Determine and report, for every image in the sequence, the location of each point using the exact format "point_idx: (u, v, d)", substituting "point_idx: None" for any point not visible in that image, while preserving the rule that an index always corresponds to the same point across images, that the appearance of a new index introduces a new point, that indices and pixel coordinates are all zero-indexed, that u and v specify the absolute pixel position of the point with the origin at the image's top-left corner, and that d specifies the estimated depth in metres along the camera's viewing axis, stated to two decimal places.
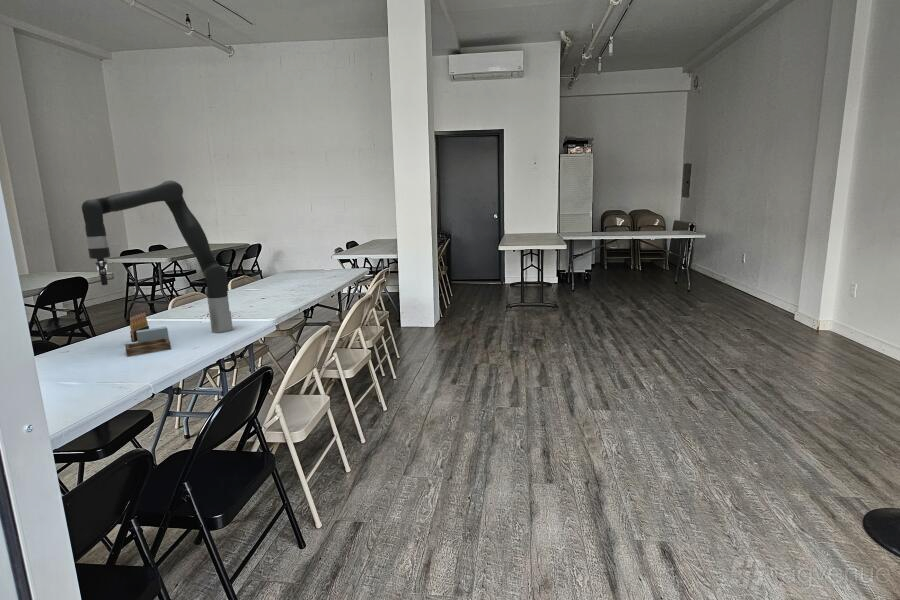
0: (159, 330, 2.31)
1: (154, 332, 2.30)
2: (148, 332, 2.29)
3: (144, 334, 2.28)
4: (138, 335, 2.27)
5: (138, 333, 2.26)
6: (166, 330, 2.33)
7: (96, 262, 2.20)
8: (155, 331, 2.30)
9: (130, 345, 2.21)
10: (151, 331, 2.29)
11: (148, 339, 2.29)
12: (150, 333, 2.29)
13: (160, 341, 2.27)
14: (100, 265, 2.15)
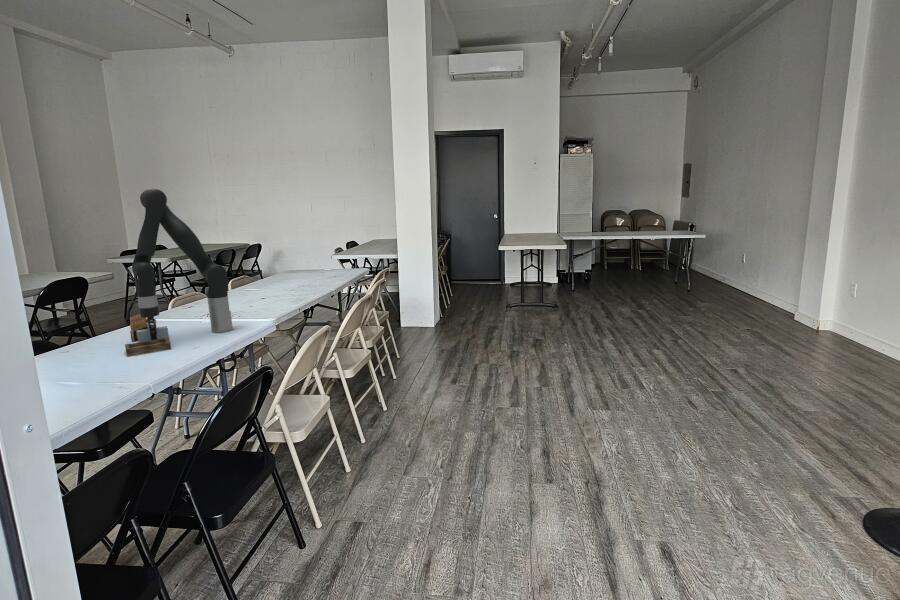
0: (159, 330, 2.31)
1: None
2: (148, 332, 2.29)
3: (144, 333, 2.28)
4: (138, 335, 2.27)
5: (138, 333, 2.26)
6: (166, 330, 2.33)
7: (146, 320, 2.30)
8: None
9: (130, 345, 2.21)
10: (151, 331, 2.29)
11: (148, 339, 2.29)
12: None
13: (160, 341, 2.27)
14: (151, 327, 2.25)
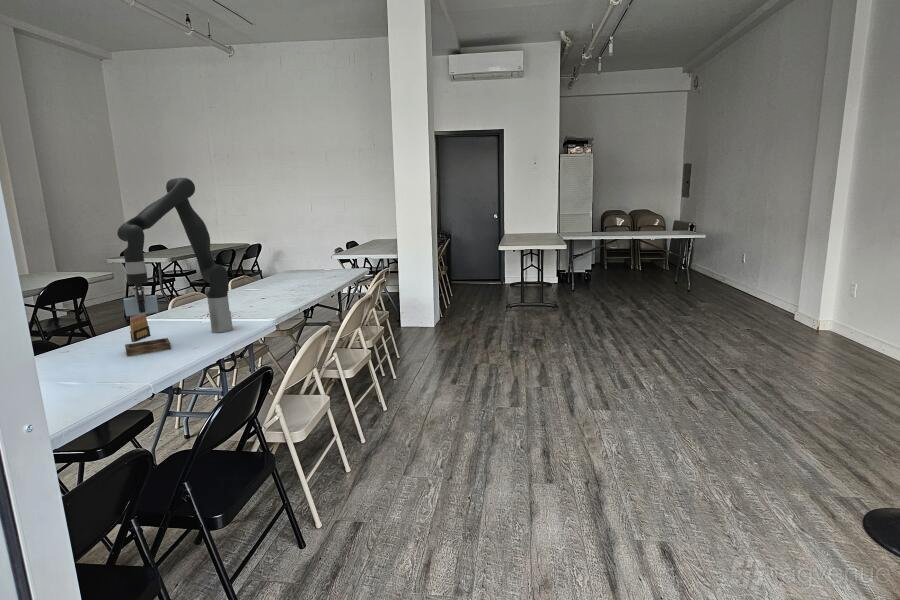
0: (148, 298, 2.18)
1: None
2: (136, 300, 2.15)
3: (131, 301, 2.14)
4: (125, 303, 2.13)
5: (125, 300, 2.13)
6: (155, 298, 2.19)
7: None
8: None
9: (130, 345, 2.21)
10: (139, 299, 2.16)
11: (136, 307, 2.16)
12: (137, 301, 2.16)
13: (160, 341, 2.27)
14: (139, 294, 2.12)
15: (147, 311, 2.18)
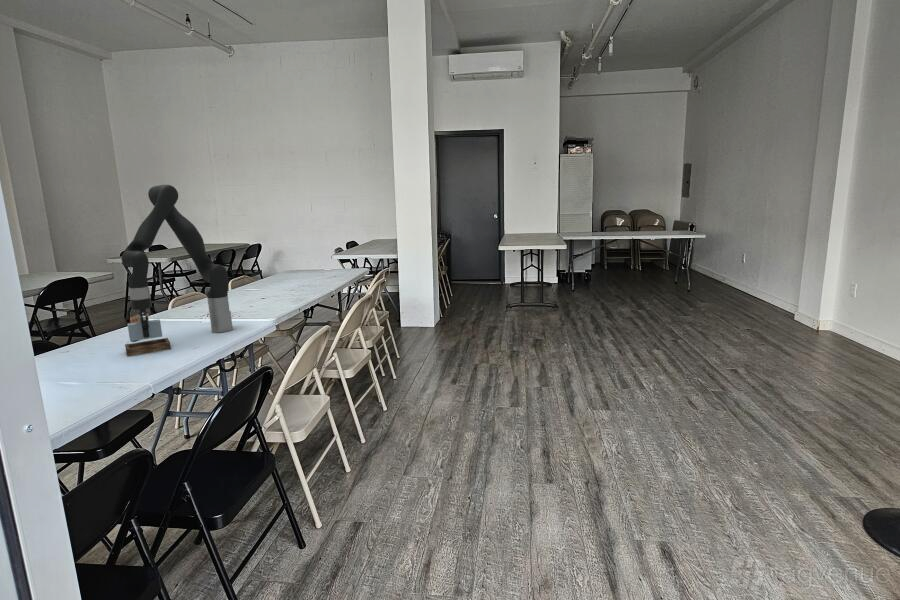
0: (151, 323, 2.20)
1: None
2: (140, 325, 2.17)
3: (135, 327, 2.16)
4: (129, 328, 2.15)
5: (129, 326, 2.15)
6: (159, 323, 2.21)
7: (138, 312, 2.19)
8: None
9: (130, 345, 2.21)
10: (143, 324, 2.18)
11: (140, 332, 2.18)
12: None
13: (160, 341, 2.27)
14: (143, 320, 2.14)
15: (151, 336, 2.20)
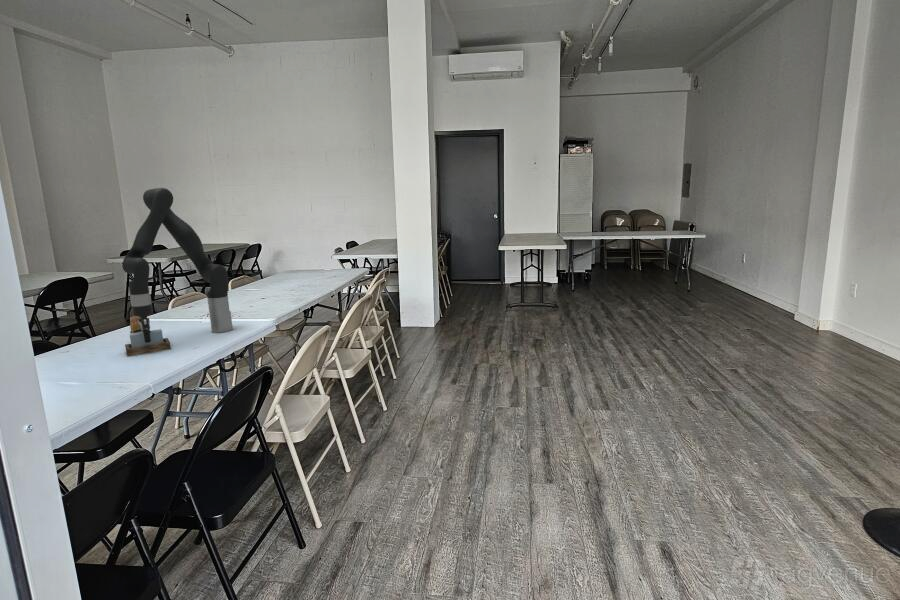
0: (153, 333, 2.21)
1: None
2: (142, 335, 2.18)
3: (137, 337, 2.17)
4: (131, 338, 2.16)
5: (131, 336, 2.16)
6: (161, 333, 2.22)
7: (139, 319, 2.19)
8: None
9: (130, 345, 2.21)
10: None
11: (142, 342, 2.19)
12: (143, 336, 2.19)
13: None
14: (144, 323, 2.14)
15: None
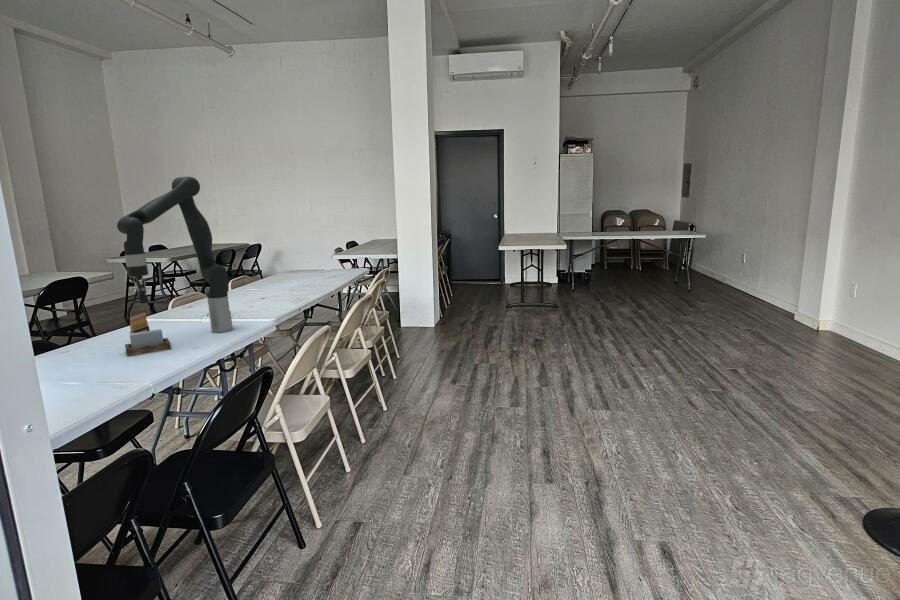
0: (153, 333, 2.21)
1: (148, 335, 2.19)
2: (142, 335, 2.18)
3: (137, 337, 2.17)
4: (131, 338, 2.16)
5: (131, 336, 2.16)
6: (161, 333, 2.22)
7: (134, 280, 2.18)
8: (149, 334, 2.20)
9: (130, 345, 2.21)
10: (145, 334, 2.19)
11: (142, 342, 2.19)
12: (143, 336, 2.19)
13: None
14: (140, 283, 2.13)
15: None
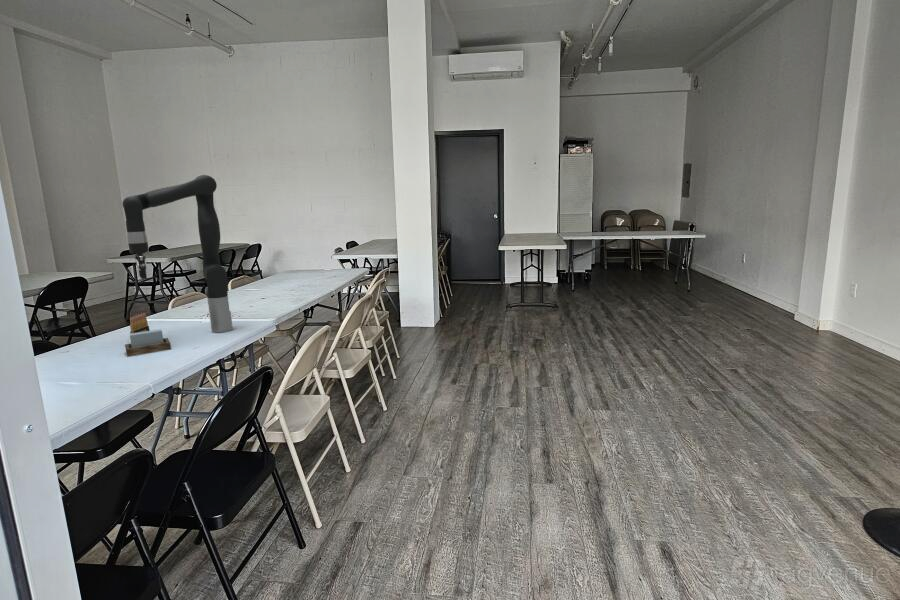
0: (153, 333, 2.21)
1: (148, 335, 2.19)
2: (142, 335, 2.18)
3: (137, 337, 2.17)
4: (131, 338, 2.16)
5: (131, 336, 2.16)
6: (161, 333, 2.22)
7: None
8: (149, 334, 2.20)
9: (130, 345, 2.21)
10: (145, 334, 2.19)
11: (142, 342, 2.19)
12: (143, 336, 2.19)
13: None
14: (140, 259, 2.23)
15: None
